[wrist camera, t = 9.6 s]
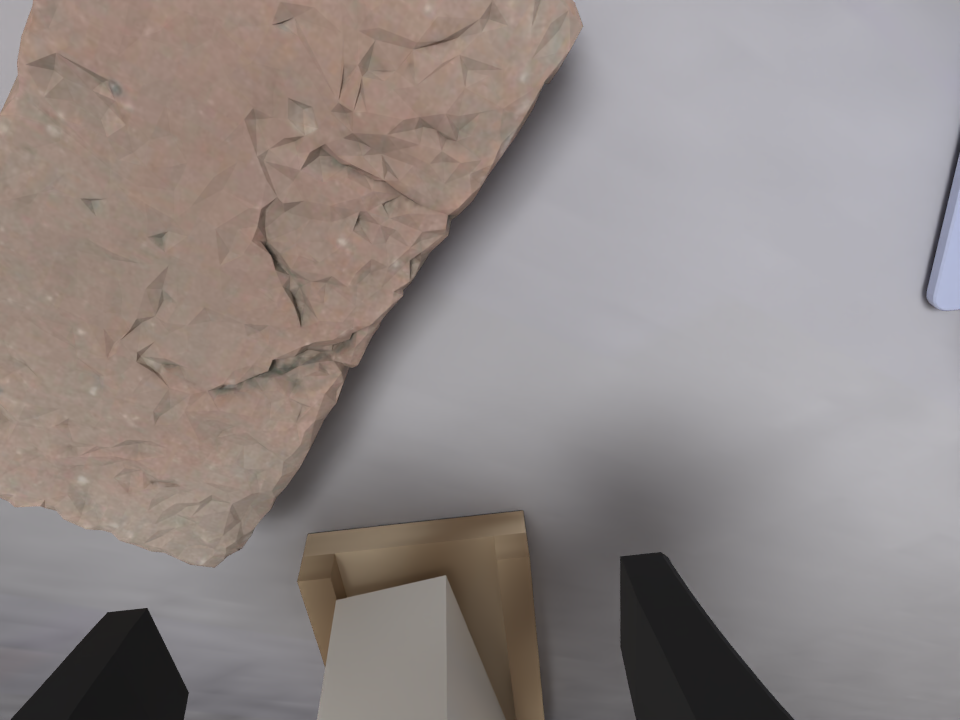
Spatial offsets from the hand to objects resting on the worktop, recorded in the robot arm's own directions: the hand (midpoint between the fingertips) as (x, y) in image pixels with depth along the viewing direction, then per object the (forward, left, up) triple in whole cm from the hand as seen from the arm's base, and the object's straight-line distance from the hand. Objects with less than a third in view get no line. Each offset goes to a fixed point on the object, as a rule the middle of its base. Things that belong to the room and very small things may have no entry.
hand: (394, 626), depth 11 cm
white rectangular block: (+1, +13, -8) cm, 15 cm away
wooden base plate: (+1, +13, -10) cm, 16 cm away
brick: (+4, -4, -10) cm, 12 cm away
